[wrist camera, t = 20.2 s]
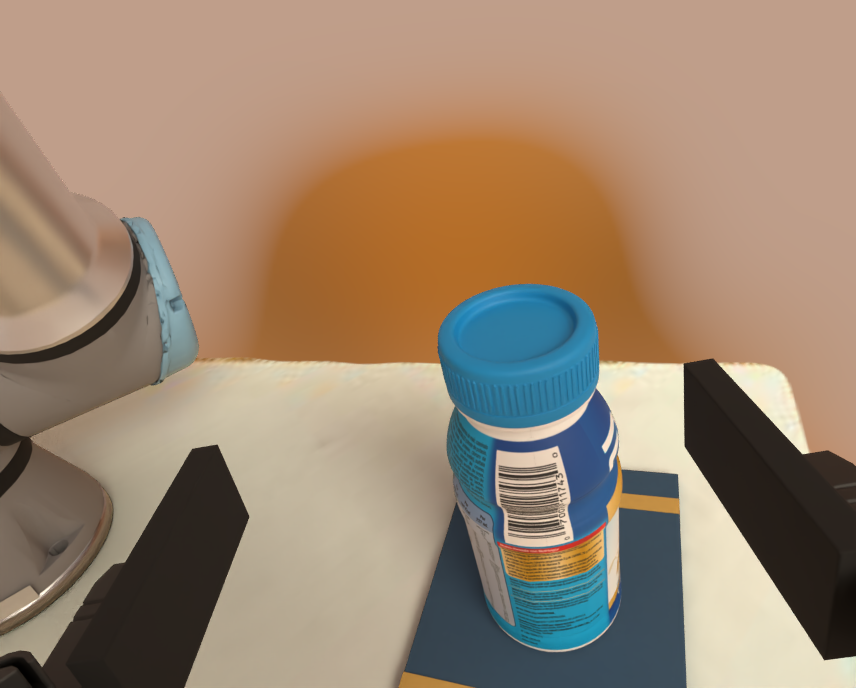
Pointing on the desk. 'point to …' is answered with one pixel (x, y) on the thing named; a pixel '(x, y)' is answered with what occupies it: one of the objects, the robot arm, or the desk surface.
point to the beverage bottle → (535, 462)
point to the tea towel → (581, 668)
